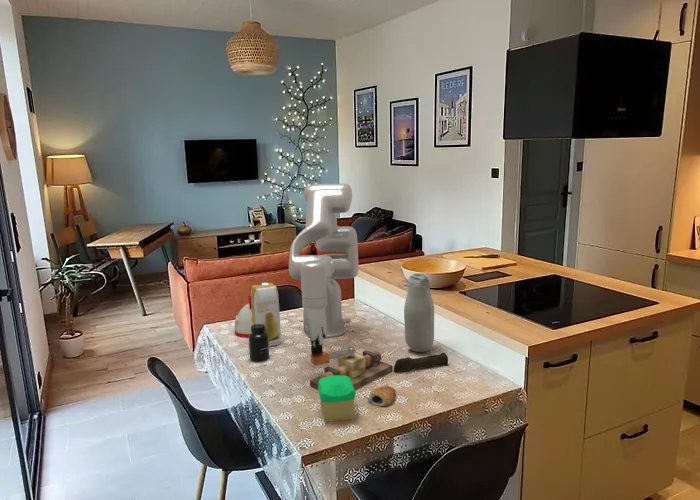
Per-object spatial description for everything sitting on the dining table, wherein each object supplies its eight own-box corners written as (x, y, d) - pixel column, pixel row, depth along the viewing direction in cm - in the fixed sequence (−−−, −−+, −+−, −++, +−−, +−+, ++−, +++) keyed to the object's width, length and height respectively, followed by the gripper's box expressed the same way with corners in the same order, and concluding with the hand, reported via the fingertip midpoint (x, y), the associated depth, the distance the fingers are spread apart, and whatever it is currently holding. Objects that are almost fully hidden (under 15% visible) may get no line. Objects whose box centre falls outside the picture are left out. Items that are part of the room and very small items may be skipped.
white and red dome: (235, 339, 199) (232, 302, 196) (234, 328, 212) (231, 293, 209) (271, 335, 202) (268, 299, 199) (268, 324, 215) (266, 290, 212)
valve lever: (352, 354, 162) (352, 345, 162) (356, 357, 160) (356, 348, 159) (311, 362, 156) (310, 354, 156) (314, 366, 154) (313, 357, 153)
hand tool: (443, 361, 173) (443, 348, 172) (448, 366, 169) (448, 353, 168) (390, 370, 168) (390, 357, 167) (395, 375, 164) (395, 361, 163)
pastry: (380, 390, 154) (380, 378, 153) (401, 395, 151) (401, 383, 150) (366, 404, 146) (366, 391, 145) (387, 409, 143) (387, 397, 142)
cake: (322, 425, 135) (320, 390, 133) (317, 405, 145) (316, 373, 144) (358, 420, 137) (357, 386, 135) (351, 402, 147) (350, 369, 145)
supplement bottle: (265, 362, 176) (263, 329, 174) (246, 361, 177) (244, 329, 175) (272, 355, 183) (270, 323, 180) (254, 354, 184) (252, 322, 182)
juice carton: (259, 350, 188) (254, 286, 183) (252, 343, 195) (248, 282, 190) (283, 344, 192) (279, 283, 187) (276, 338, 199) (272, 278, 194)
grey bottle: (439, 349, 183) (439, 273, 177) (422, 358, 176) (422, 279, 170) (416, 343, 190) (415, 269, 184) (399, 351, 182) (398, 275, 177)
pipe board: (365, 361, 175) (365, 341, 173) (392, 371, 166) (392, 350, 165) (310, 386, 157) (308, 364, 156) (336, 398, 149) (335, 375, 148)
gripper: (296, 296, 161) (299, 351, 165) (309, 309, 147) (312, 369, 151) (318, 293, 164) (321, 347, 167) (334, 306, 150) (336, 364, 154)
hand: (317, 357), depth 159 cm, fingers closed
